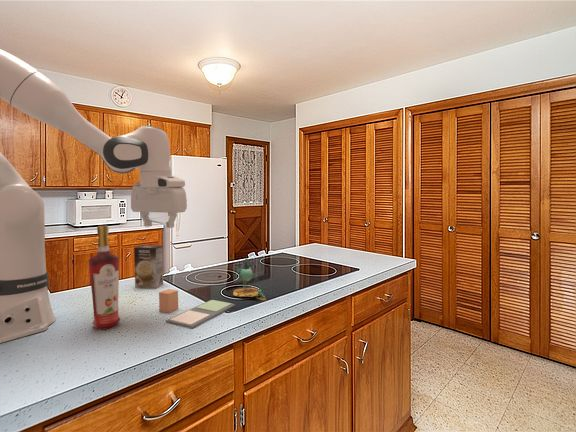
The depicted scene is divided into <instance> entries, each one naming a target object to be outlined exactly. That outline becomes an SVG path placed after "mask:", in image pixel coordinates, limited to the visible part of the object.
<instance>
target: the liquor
mask: <svg viewBox="0 0 576 432" xmlns="http://www.w3.org/2000/svg"><path fill="white" fill-rule="evenodd" d="M96 227H97V228H96V231H97V232H96V233H97V236H98V241H97V254H95V255H94V256H92V257H91V258H90V259H88V268H89V269H88V270H89V279H90V286H91V287H90V288H91V295H92V296H91V297H92V307H93V308H92V309H93V322H92V325H93V326H94V327H96V328H97V329H99V330H106V329H110V328H113V327H114V326H116V325H117V324H118V323H119V322H120V321H121V317H120V316H119V285H120V284H119V283H120V281H119V280H120V279H119V278H120V257H118V255H116V254H112V253H111V252H110V244H109V237H108V236H109V232H110V231H109V225H98V226H96Z"/></svg>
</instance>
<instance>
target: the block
mask: <svg viewBox="0 0 576 432" xmlns="http://www.w3.org/2000/svg"><path fill="white" fill-rule="evenodd" d="M158 301H159V302H158V304H159V305H158V308H159V312H163V313H168V314H170V313H171V312H174V311H176V310H179V290H177V289H171V288H167V289H164V290H162V291H159V292H158Z"/></svg>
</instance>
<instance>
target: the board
mask: <svg viewBox="0 0 576 432" xmlns="http://www.w3.org/2000/svg"><path fill="white" fill-rule="evenodd" d="M234 307H236V304H235V303H232V302H231V303H230V302H226V301H222V300H214V299H210V300H207V301H206V302H203V303H200V304H199V305H197V306H194V307H192V308H190V309H188V310H186V311H184V312H181V313H179V314H177V315H175V316H172V317H170V318H168V319H165V323H166V324H171V325H176V326H180V327H184V328H188V329H194V328H196V327H199V326H200V325H202V324H204V323H206V322H208V321H210V320H211V319H214V318H216V317H217V316H219V315H222V314H223V313H225V312H227V311H229V310H230V309H233V308H234Z"/></svg>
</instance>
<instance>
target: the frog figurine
mask: <svg viewBox="0 0 576 432" xmlns="http://www.w3.org/2000/svg"><path fill="white" fill-rule="evenodd" d="M248 260H249V258H247V257H246V258H244V266H243V267H242V266H241V265H239V266H237V273H236V274H235V277H236V278H234V279H233V281H234V282H235V281H236V279H237V280H239V279H241V280H242V281H243V285H242V286H243V287H242V288H237V289H234V290H233V291H232V292H233V294H232V295H233V296H234V297H240V298H242V297H244V298H247V297H252V298H253V297H255V300H259V301H267V298H266V296H265V293H264V291H263V290H262V287H261V285H259V288H255V287H252V286H251V284H250V283H248V284H247V282H249V281H251V280H252V279H253V277H254V281H253V284H254V285H255V282H256V283H257V284H259V280H258V279H257V278H258V275H257V274H254V272H253V270H252V268H253V264H250V263H249V264H248V262H249V261H248ZM237 275H239V276H237ZM248 286H249V287H248Z"/></svg>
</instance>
